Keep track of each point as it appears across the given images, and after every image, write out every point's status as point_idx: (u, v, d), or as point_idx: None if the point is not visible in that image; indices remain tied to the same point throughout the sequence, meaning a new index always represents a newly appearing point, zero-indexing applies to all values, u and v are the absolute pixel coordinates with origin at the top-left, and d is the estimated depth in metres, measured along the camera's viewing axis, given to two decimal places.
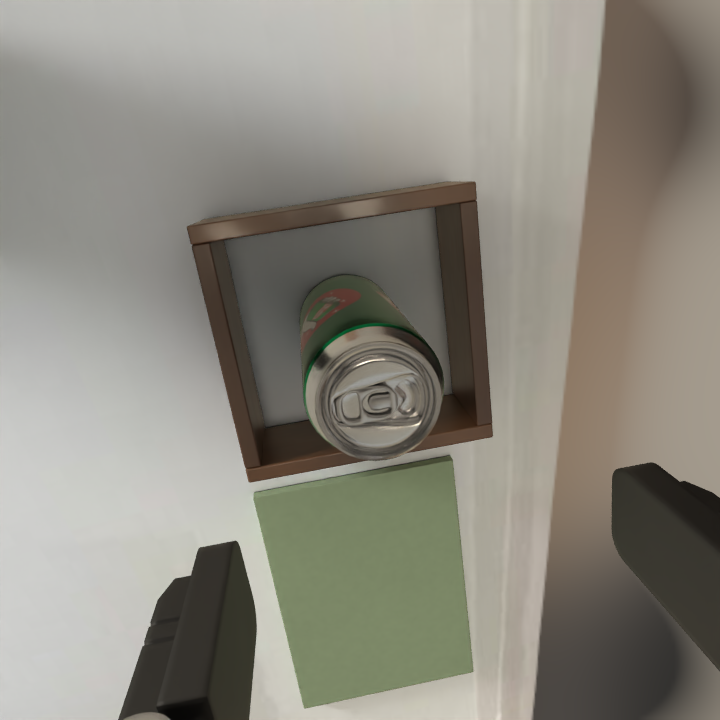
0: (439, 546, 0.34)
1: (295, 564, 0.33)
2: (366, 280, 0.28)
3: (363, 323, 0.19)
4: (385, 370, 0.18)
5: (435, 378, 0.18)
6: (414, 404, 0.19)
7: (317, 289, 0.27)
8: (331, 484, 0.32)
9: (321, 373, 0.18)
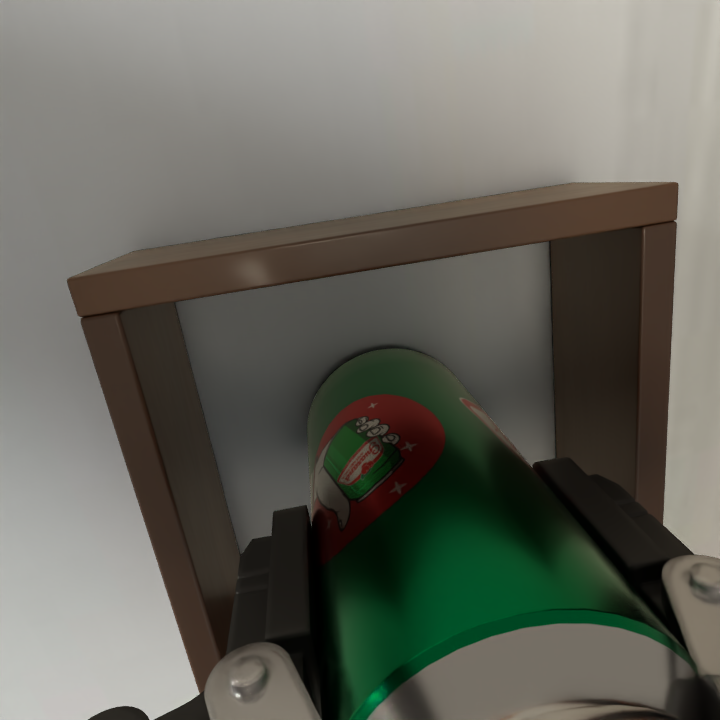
0: None
1: None
2: (429, 361, 0.15)
3: (508, 602, 0.06)
4: None
5: None
6: None
7: (340, 379, 0.15)
8: None
9: None
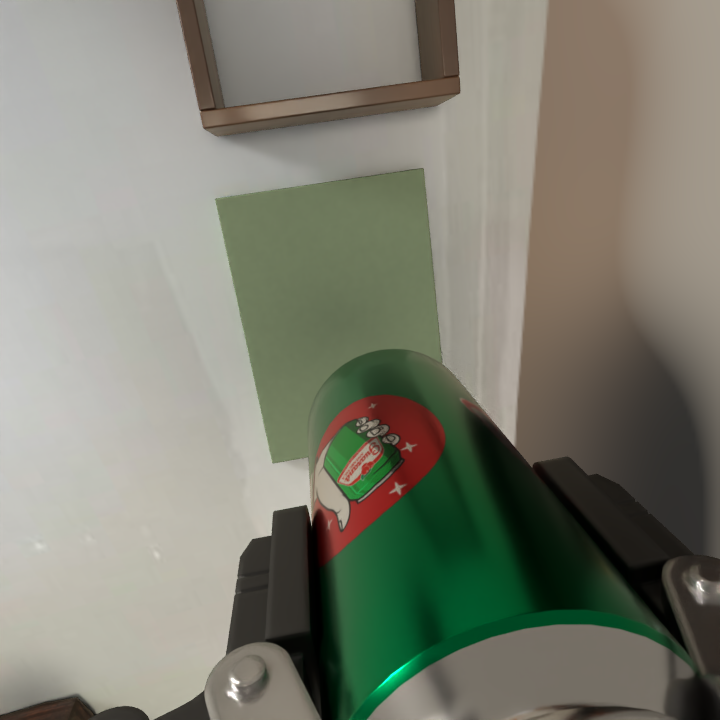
0: (411, 274, 0.33)
1: (260, 284, 0.32)
2: (429, 362, 0.15)
3: (507, 603, 0.06)
4: None
5: None
6: None
7: (340, 380, 0.15)
8: (297, 188, 0.31)
9: None
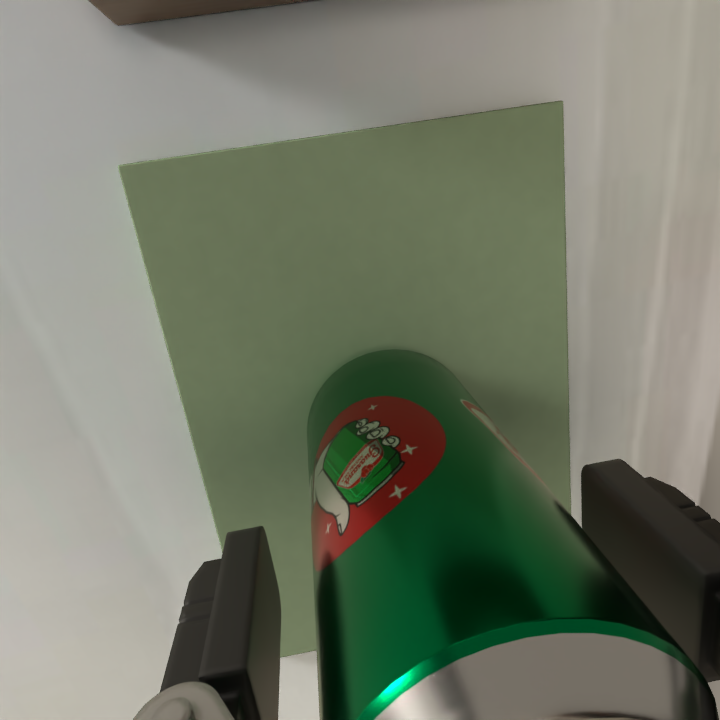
0: (524, 319, 0.17)
1: (221, 344, 0.16)
2: (429, 362, 0.15)
3: (510, 611, 0.06)
4: None
5: None
6: None
7: (340, 380, 0.15)
8: (295, 143, 0.14)
9: None
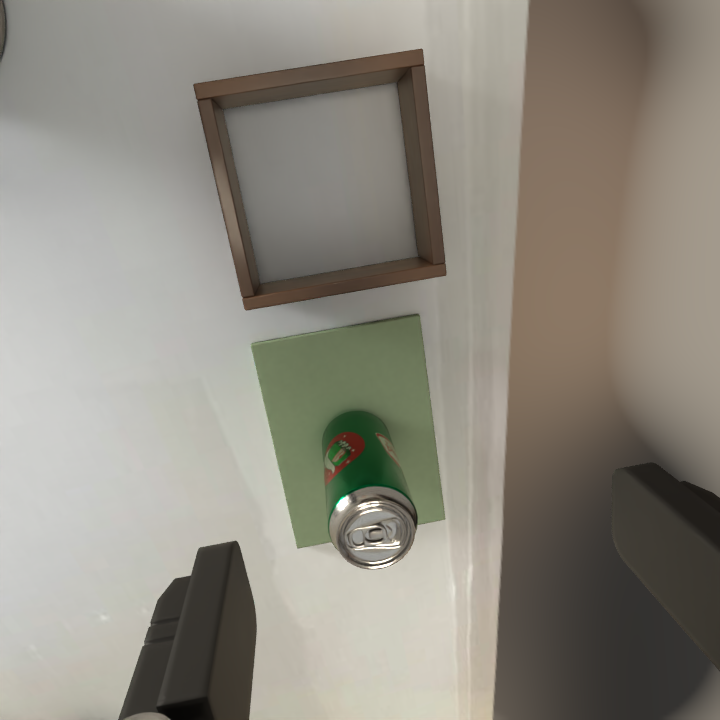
0: (411, 396, 0.40)
1: (287, 409, 0.39)
2: (369, 416, 0.38)
3: (365, 483, 0.29)
4: (378, 516, 0.29)
5: (410, 520, 0.29)
6: (397, 534, 0.29)
7: (334, 424, 0.38)
8: (316, 335, 0.38)
9: (339, 517, 0.29)
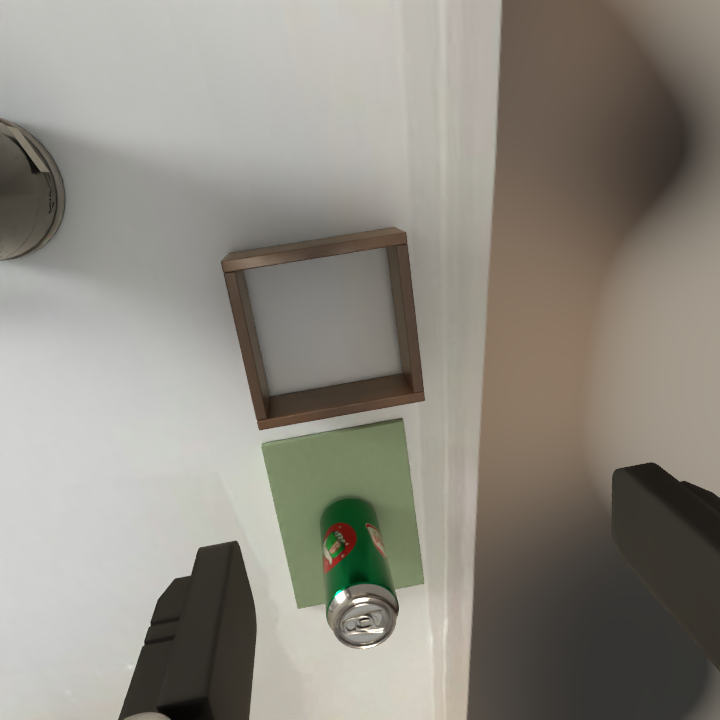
0: (395, 485, 0.47)
1: (291, 496, 0.46)
2: (360, 504, 0.46)
3: (357, 580, 0.37)
4: (367, 609, 0.36)
5: (392, 611, 0.36)
6: (382, 621, 0.37)
7: (331, 511, 0.45)
8: (316, 437, 0.45)
9: (335, 609, 0.36)
